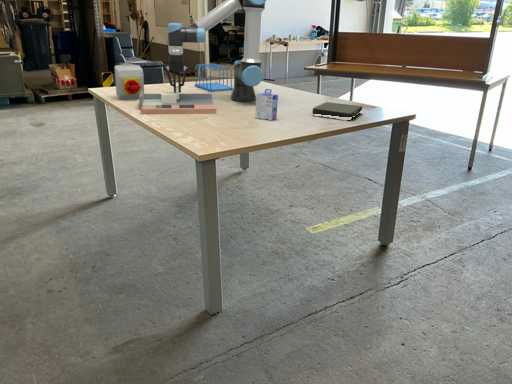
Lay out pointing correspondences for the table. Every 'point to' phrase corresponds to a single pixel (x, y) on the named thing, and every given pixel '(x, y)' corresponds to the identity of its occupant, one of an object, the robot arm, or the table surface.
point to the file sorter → (210, 86)
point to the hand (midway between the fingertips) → (177, 98)
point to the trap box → (177, 104)
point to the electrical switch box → (129, 81)
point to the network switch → (337, 109)
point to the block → (168, 97)
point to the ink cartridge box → (266, 105)
